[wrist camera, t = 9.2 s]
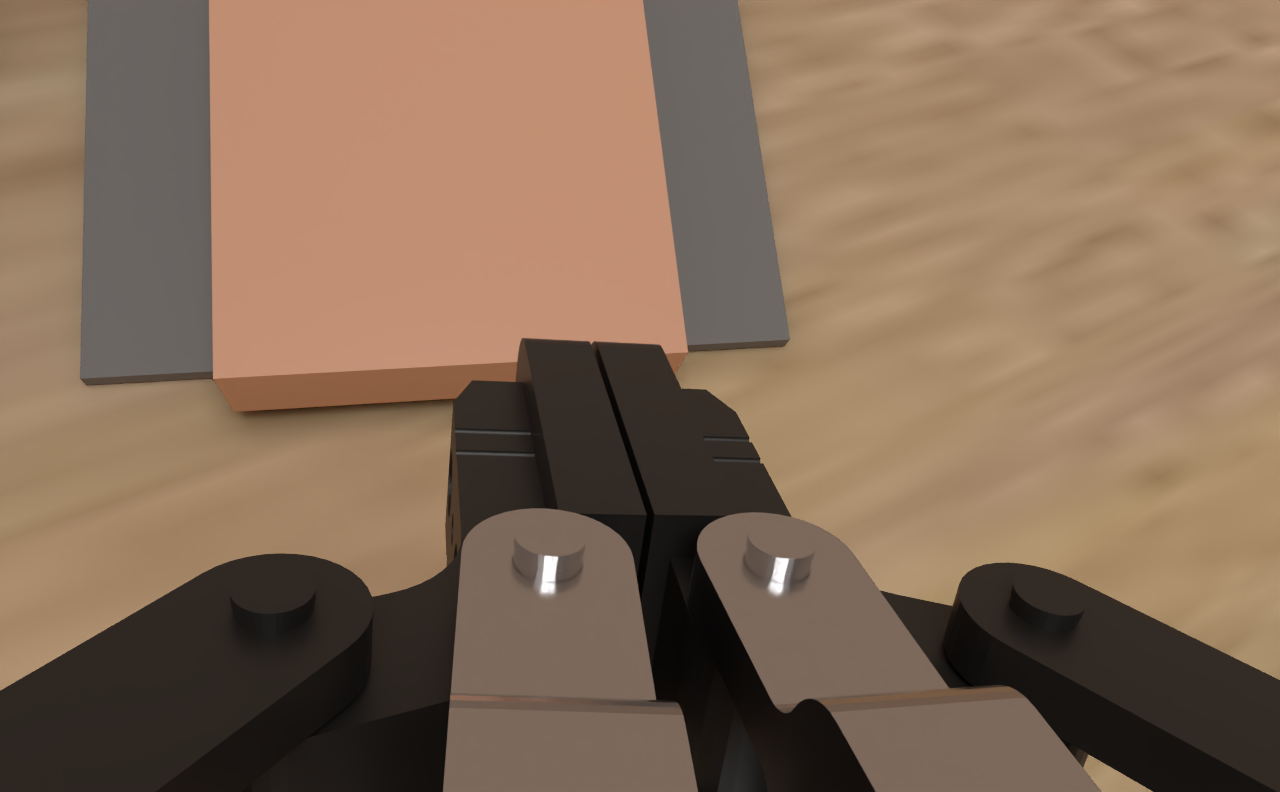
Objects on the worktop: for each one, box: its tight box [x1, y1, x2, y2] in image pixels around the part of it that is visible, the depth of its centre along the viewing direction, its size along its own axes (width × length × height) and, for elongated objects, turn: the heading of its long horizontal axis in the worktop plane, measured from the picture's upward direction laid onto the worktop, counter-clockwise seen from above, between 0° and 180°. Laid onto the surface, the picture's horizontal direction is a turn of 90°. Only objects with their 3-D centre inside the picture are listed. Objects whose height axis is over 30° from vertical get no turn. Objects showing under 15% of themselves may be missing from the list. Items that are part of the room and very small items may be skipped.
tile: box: [209, 0, 688, 412], centre depth 33 cm, size 12×3×16 cm
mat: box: [80, 0, 790, 385], centre depth 36 cm, size 20×18×1 cm
